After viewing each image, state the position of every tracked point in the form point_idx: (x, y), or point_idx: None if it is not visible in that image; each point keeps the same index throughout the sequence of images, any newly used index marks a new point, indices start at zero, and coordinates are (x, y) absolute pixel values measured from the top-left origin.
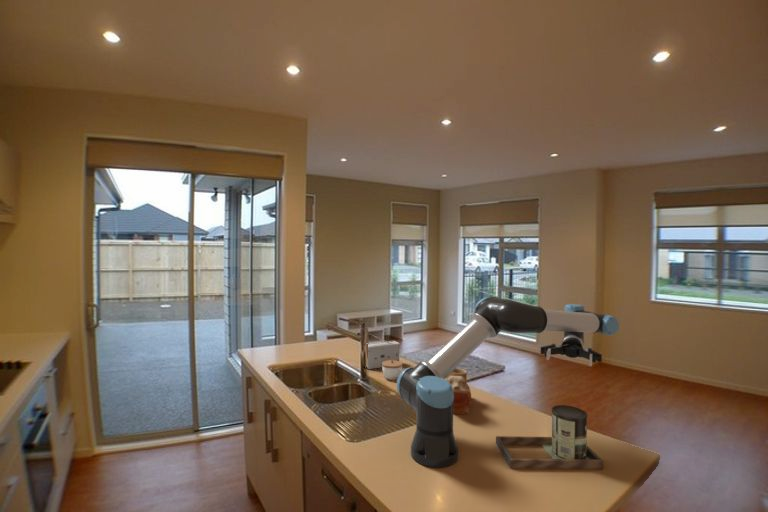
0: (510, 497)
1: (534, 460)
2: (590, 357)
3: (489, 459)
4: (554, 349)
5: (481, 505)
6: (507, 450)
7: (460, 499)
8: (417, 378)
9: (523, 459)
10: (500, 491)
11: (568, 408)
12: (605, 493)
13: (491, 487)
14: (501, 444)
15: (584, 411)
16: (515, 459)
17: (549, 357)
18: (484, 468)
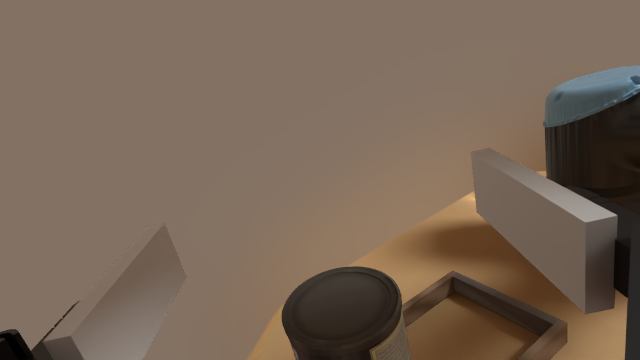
0: (409, 242)
1: (414, 297)
2: (147, 237)
3: (508, 282)
4: (628, 331)
5: (429, 217)
6: (483, 290)
7: (455, 210)
8: None
9: (433, 285)
10: (427, 241)
11: (348, 326)
12: (282, 328)
13: (442, 239)
14: (515, 300)
15: (290, 332)
16: (446, 277)
17: (508, 233)
18: (489, 260)
